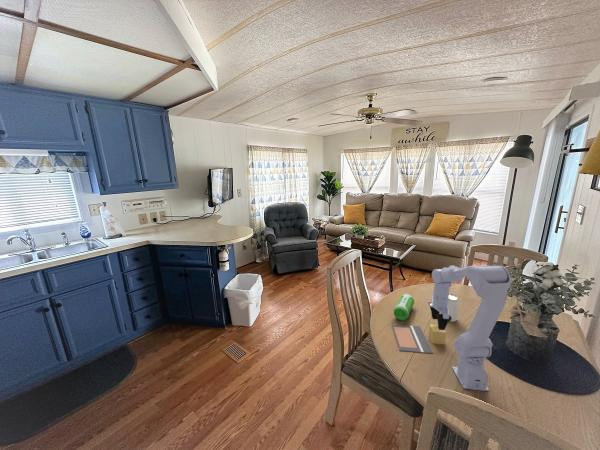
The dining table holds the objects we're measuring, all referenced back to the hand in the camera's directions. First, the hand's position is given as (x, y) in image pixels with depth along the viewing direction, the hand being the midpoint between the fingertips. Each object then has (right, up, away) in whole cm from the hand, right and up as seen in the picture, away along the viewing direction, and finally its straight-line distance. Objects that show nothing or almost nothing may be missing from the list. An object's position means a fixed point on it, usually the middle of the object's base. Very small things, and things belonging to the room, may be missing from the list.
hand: (438, 324), depth 108 cm
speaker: (-5, -4, +24) cm, 24 cm away
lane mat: (-11, -8, +4) cm, 14 cm away
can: (+15, -4, +17) cm, 23 cm away
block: (0, -8, +2) cm, 8 cm away
